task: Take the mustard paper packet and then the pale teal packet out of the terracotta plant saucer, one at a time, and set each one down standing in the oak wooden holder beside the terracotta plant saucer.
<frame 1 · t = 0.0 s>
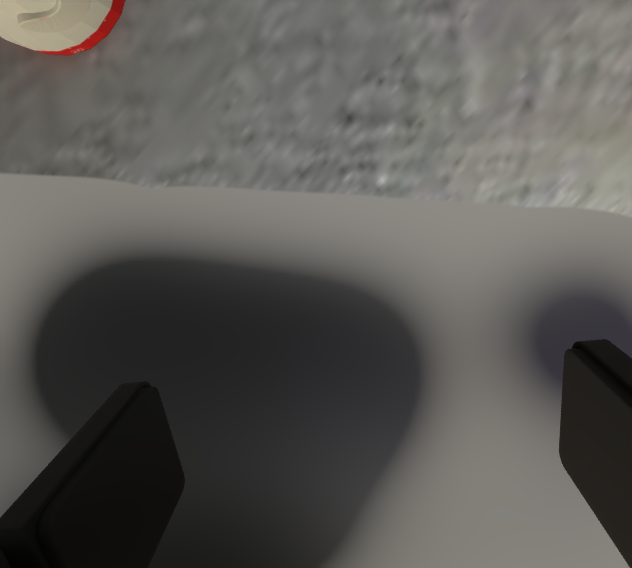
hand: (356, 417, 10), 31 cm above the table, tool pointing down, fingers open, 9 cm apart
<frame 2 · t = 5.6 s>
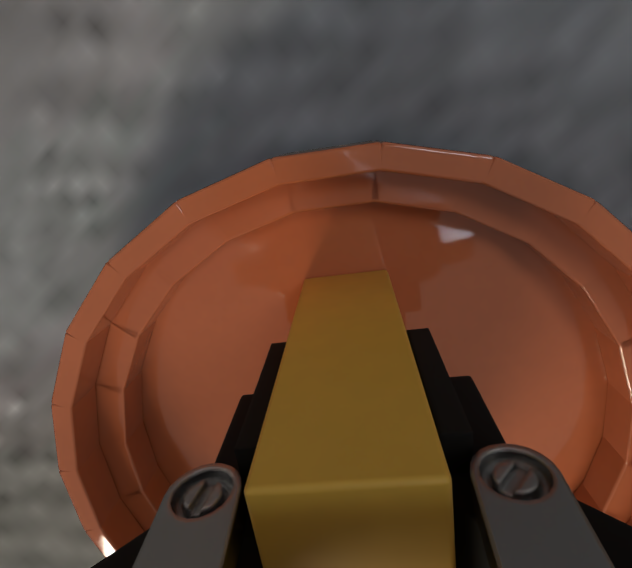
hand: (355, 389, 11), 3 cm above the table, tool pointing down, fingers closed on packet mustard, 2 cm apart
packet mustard: (353, 342, 13), point 1 cm above the table, touching terracotta plant saucer, gripper
terracotta plant saucer: (363, 417, 15), on the table
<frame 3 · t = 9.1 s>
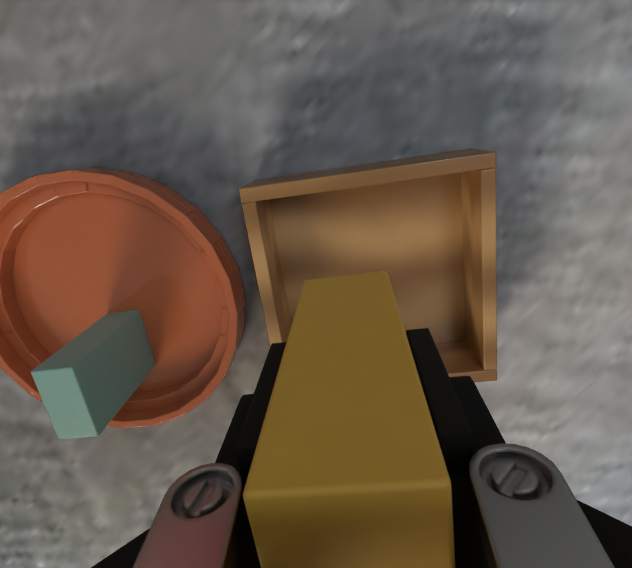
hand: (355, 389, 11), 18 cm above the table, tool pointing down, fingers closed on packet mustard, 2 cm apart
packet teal: (132, 339, 31), resting on terracotta plant saucer
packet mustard: (353, 343, 13), point 16 cm above the table, touching gripper
terracotta plant saucer: (122, 297, 30), on the table
holder: (370, 267, 29), on the table
when the fingers open (3 cm above the table, at t = 12.7 s): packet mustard stays where it is, resting on holder.
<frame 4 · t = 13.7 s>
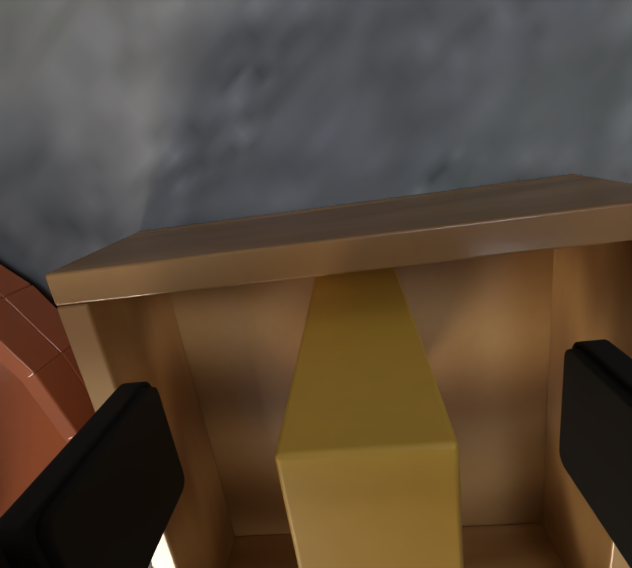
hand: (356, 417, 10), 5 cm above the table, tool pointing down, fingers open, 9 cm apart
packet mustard: (362, 335, 14), point 1 cm above the table, touching holder
holder: (366, 390, 15), on the table
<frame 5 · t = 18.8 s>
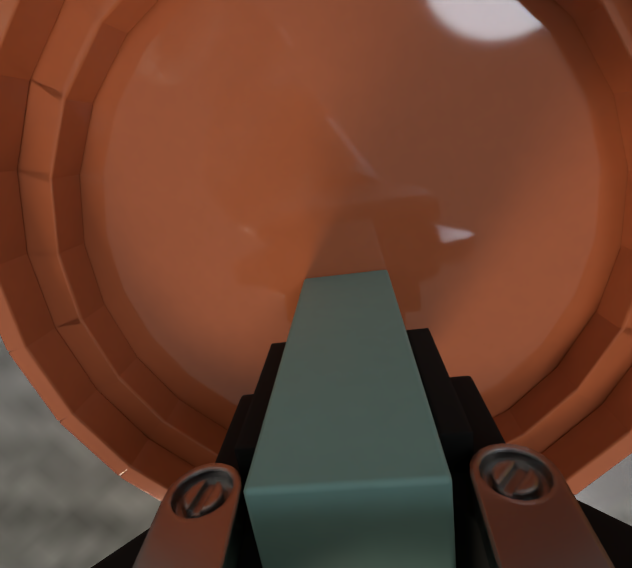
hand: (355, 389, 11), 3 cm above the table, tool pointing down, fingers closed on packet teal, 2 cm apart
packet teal: (353, 342, 13), point 1 cm above the table, touching terracotta plant saucer, gripper
terracotta plant saucer: (341, 239, 13), on the table
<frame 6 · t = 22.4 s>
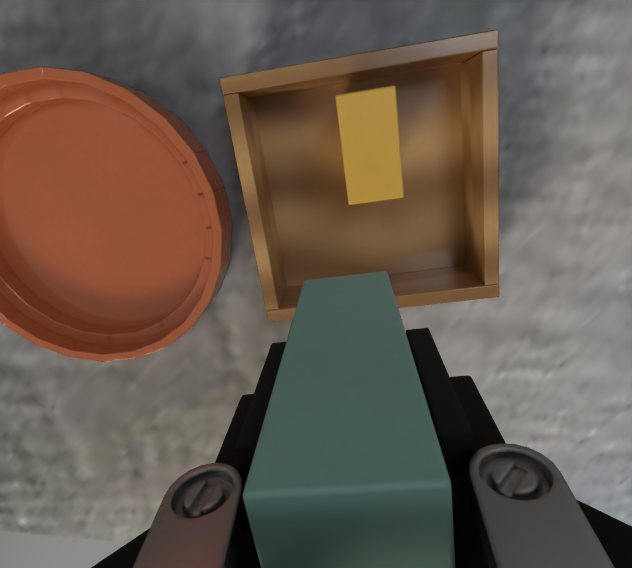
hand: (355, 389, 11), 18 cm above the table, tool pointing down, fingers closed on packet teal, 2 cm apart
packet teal: (353, 343, 13), point 16 cm above the table, touching gripper
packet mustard: (362, 144, 25), point 1 cm above the table, touching holder
terracotta plant saucer: (102, 222, 29), on the table
holder: (364, 185, 27), on the table
when the fingers open (3 cm above the table, at t = 26.0 s): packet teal stays where it is, resting on holder.
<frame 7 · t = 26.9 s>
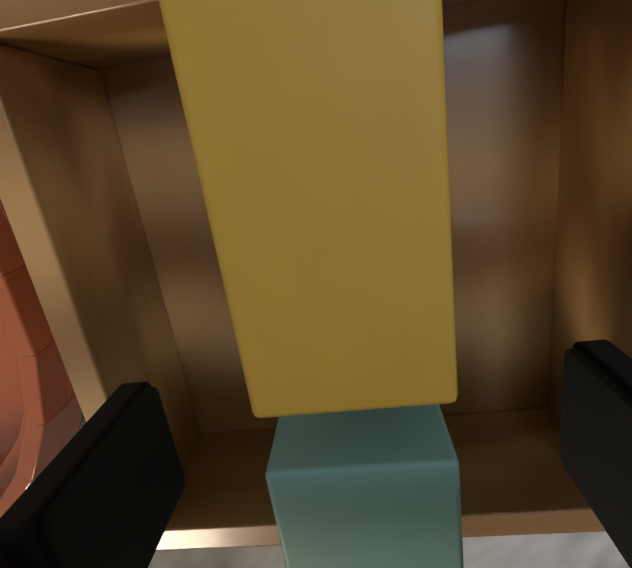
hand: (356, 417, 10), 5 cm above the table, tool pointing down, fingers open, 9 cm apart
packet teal: (359, 340, 14), point 1 cm above the table, touching holder
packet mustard: (339, 168, 12), point 1 cm above the table, touching holder
holder: (346, 249, 13), on the table
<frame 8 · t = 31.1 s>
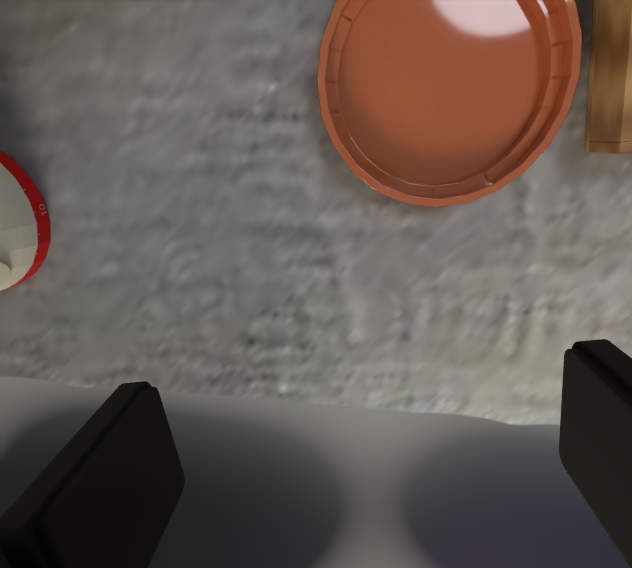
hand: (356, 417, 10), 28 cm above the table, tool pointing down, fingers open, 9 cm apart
terracotta plant saucer: (437, 82, 33), on the table
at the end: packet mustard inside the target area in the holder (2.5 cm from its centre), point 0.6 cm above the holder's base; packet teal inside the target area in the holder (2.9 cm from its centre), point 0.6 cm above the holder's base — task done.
